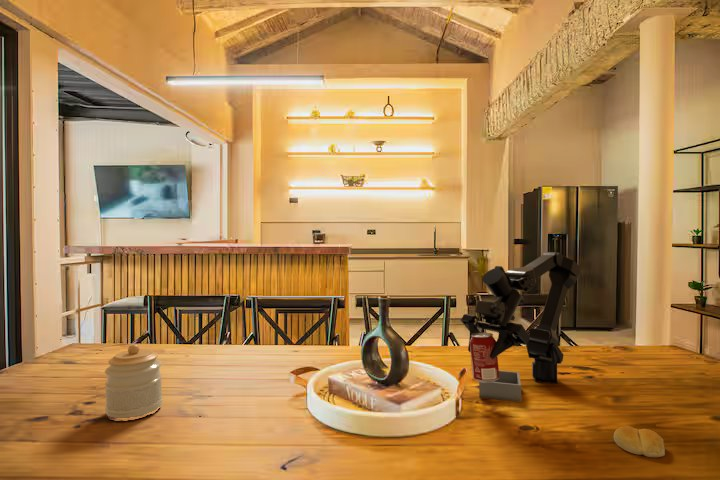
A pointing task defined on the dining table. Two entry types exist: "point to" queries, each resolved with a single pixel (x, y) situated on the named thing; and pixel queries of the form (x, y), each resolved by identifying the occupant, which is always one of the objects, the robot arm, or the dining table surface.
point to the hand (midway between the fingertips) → (479, 354)
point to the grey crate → (502, 387)
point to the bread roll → (639, 441)
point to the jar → (133, 383)
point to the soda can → (483, 358)
